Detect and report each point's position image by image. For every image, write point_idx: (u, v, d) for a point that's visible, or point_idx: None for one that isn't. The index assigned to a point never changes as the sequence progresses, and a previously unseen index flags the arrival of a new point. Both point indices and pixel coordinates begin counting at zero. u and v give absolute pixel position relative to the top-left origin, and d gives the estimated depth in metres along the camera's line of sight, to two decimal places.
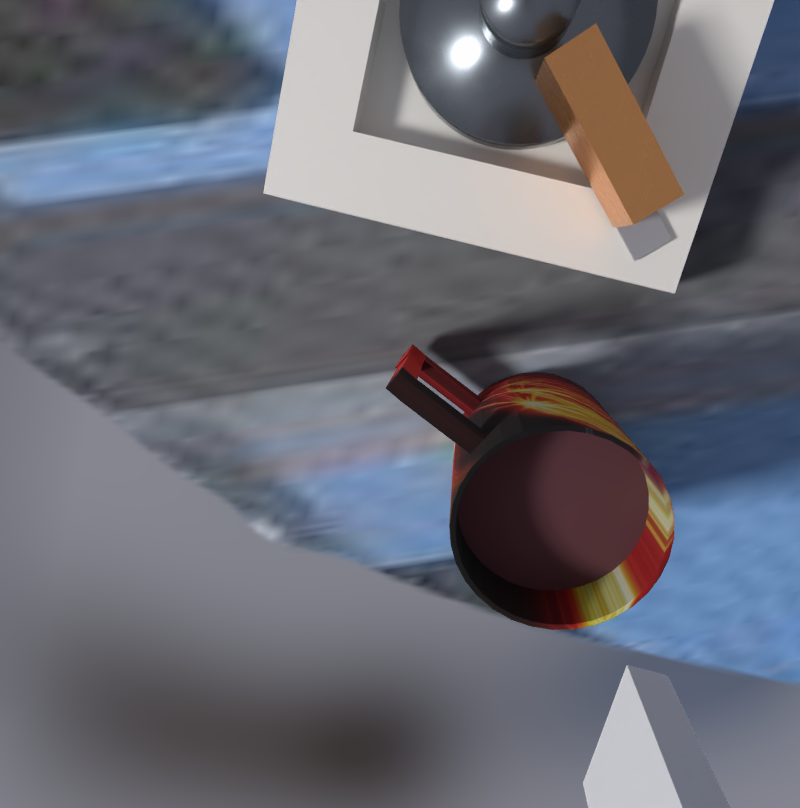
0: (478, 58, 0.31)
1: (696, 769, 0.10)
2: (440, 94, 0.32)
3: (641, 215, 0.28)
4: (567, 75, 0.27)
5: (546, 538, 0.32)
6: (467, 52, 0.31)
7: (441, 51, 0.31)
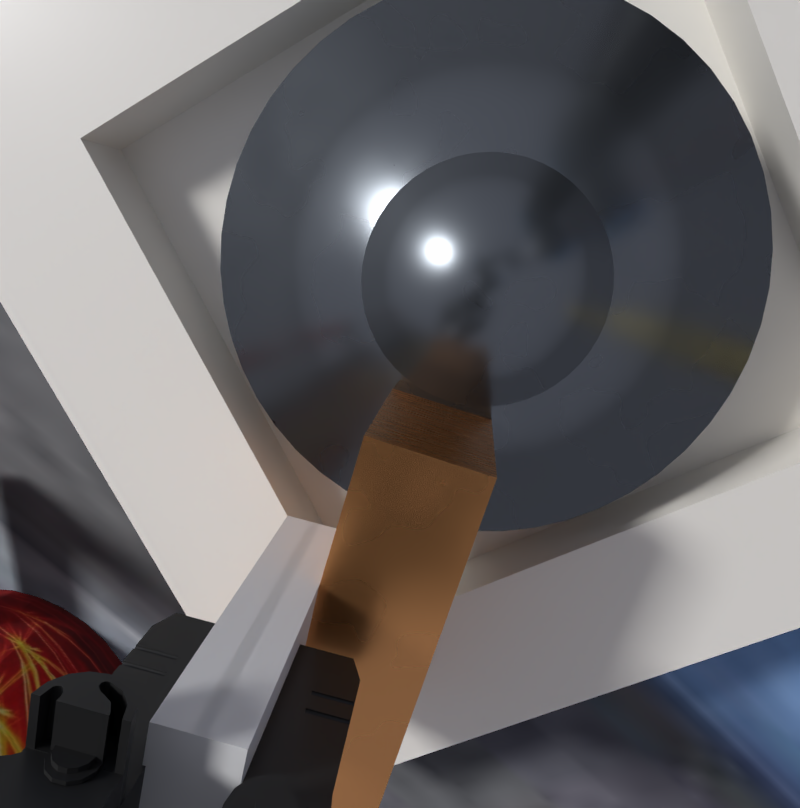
0: (348, 267, 0.15)
1: (306, 577, 0.12)
2: (245, 253, 0.15)
3: None
4: (372, 502, 0.12)
5: None
6: (341, 240, 0.14)
7: (305, 195, 0.14)
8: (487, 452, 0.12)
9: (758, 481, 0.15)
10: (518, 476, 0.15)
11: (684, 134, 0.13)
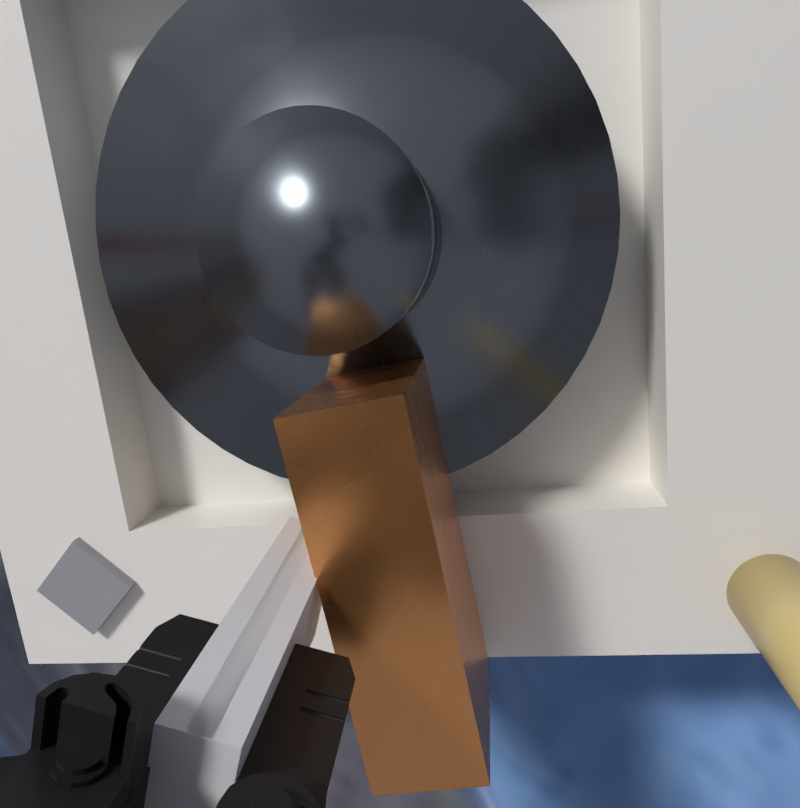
0: None
1: (302, 576, 0.12)
2: (146, 331, 0.16)
3: (393, 785, 0.13)
4: (314, 474, 0.12)
5: None
6: None
7: (164, 256, 0.15)
8: (404, 381, 0.12)
9: (530, 515, 0.16)
10: (476, 394, 0.15)
11: (439, 15, 0.13)
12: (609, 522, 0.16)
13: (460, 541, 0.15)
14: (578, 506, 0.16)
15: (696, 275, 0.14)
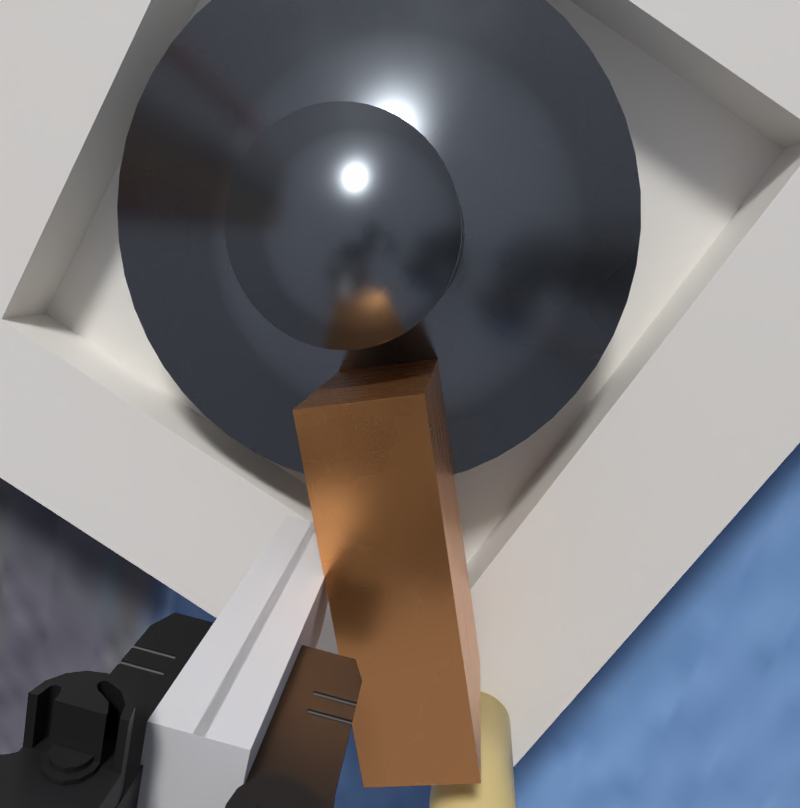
0: None
1: (308, 578, 0.12)
2: (160, 314, 0.16)
3: (385, 778, 0.13)
4: (329, 467, 0.12)
5: None
6: None
7: (185, 239, 0.15)
8: (422, 380, 0.13)
9: None
10: (487, 398, 0.15)
11: (477, 21, 0.14)
12: None
13: (461, 541, 0.16)
14: None
15: (598, 469, 0.16)
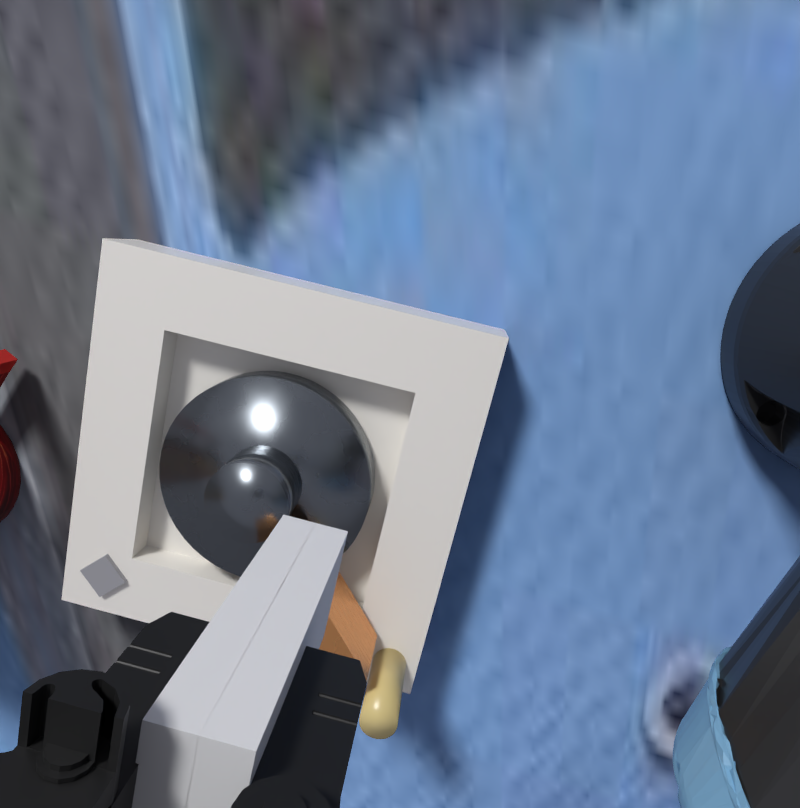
0: None
1: (312, 579, 0.12)
2: (195, 537, 0.37)
3: None
4: None
5: None
6: None
7: (194, 506, 0.37)
8: None
9: None
10: None
11: (272, 398, 0.35)
12: None
13: (345, 588, 0.37)
14: None
15: (391, 539, 0.37)
